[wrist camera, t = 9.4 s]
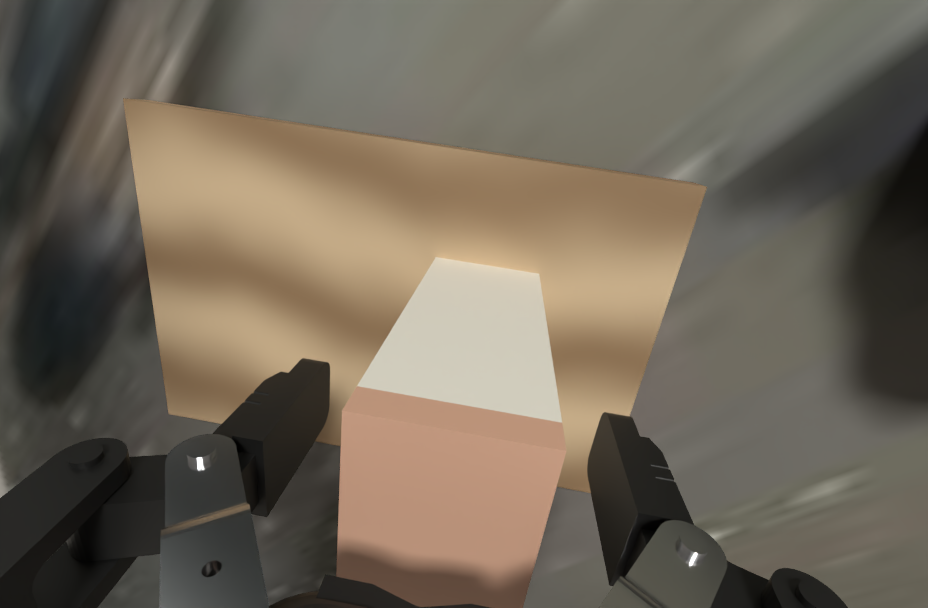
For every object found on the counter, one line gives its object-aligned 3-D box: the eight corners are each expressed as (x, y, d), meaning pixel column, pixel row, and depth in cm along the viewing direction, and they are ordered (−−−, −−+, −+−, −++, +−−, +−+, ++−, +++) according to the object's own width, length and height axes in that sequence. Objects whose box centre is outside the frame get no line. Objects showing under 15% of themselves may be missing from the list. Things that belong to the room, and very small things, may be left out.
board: (148, 100, 17) (122, 98, 16) (694, 183, 16) (707, 186, 15) (185, 399, 23) (168, 413, 22) (598, 476, 22) (602, 495, 21)
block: (435, 256, 17) (341, 410, 8) (539, 273, 17) (566, 451, 8) (420, 388, 19) (334, 626, 10) (511, 404, 19) (507, 661, 10)
